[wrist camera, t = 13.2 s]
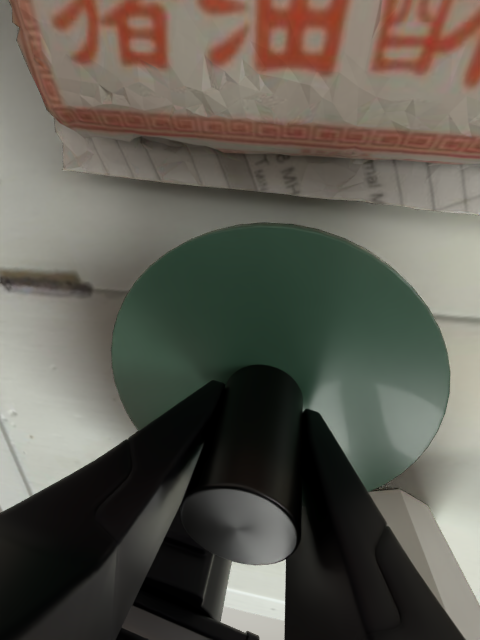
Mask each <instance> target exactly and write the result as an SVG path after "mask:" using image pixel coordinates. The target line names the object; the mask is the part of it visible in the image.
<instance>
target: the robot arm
mask: <svg viewBox="0 0 480 640" xmlns="http://www.w3.org/2000/svg"><path fill="white" fill-rule="evenodd" d="M224 389H225V384H224V383H223V382H219V381H216V380H211V381H210V382H208V383H207V384H205V385H204V386H203V387H201V388H200V389H198V390H197V391H195V392H194V393H193V394H191V395H190V396H188V397H187V398H185V399H184V400H182V401H181V402H180V403H178V404H177V405H175V406H174V407H172V408H171V409H170V410H168V411H167V412H165V413H164V414H162V415H161V416H159V417H158V418H157V419H155V420H154V421H152V422H151V423H149V424H148V425H146V426H145V427H144V428H142V429H141V430H139V431H138V432H136V433H135V434H134V435H132V436H131V437H129V438H128V440H125V441H123V442H122V443H120V444H119V445H117V446H116V447H115V448H113V449H112V450H110V451H108V452H107V453H105V454H104V455H102V456H101V457H99V458H98V459H96V460H95V461H93V462H91V463H89V464H88V465H86V466H84V467H83V468H81V469H79V470H77V471H76V472H74V473H72V474H71V475H69V476H67V477H65V478H63V479H61V480H60V481H58V482H56V483H54V484H52V485H51V486H49V487H47V488H45V489H43V490H42V491H40V492H38V493H36V494H34V495H33V496H31V497H29V498H27V499H25V500H24V501H22V502H20V503H18V504H16V505H15V506H13V507H11V508H9V509H7V510H5V511H3V512H1V513H0V640H259V636H258V635H256V634H253V633H251V632H249V631H247V632H246V633H244V632H242V631H240V630H237V629H235V628H233V627H230V626H228V625H226V624H223V623H221V622H220V621H221V616H222V610H223V605H224V600H225V595H226V589H227V584H228V579H229V574H230V568H231V563H232V561H230V560H227V559H224V558H222V557H219V556H217V555H215V554H213V553H211V552H209V551H208V550H206V549H204V548H203V547H201V546H200V545H199V544H198V543H196V542H195V541H194V540H193V539H192V538H191V537H190V535H189V534H188V533H187V531H186V530H185V528H184V526H183V524H182V521H181V518H180V505H181V502H182V499H183V497H184V494H185V492H186V489H187V486H188V484H189V481H190V478H191V476H192V473H193V470H194V468H195V465H196V463H197V460H198V457H199V455H200V452H201V449H202V447H203V444H204V442H205V439H206V436H207V434H208V431H209V428H210V426H211V424H212V421H213V418H214V416H215V413H216V411H217V408H218V405H219V403H220V400H221V397H222V395H223V392H224ZM285 640H466V639H465V638H464V636H463V635H462V634H461V632H460V631H459V629H458V628H457V627H456V625H455V624H454V622H453V621H452V619H451V618H450V617H449V615H448V614H447V612H446V611H445V610H444V608H443V607H442V605H441V604H440V603H439V601H438V600H437V598H436V597H435V596H434V594H433V593H432V591H431V590H430V588H429V587H428V585H427V584H426V582H425V581H424V580H423V578H422V577H421V575H420V574H419V572H418V571H417V569H416V568H415V566H414V565H413V563H412V562H411V560H410V559H409V557H408V555H407V554H406V552H405V551H404V549H403V548H402V546H401V544H400V543H399V541H398V540H397V538H396V536H395V535H394V533H393V532H392V530H391V528H390V527H389V526H387V522H386V520H385V519H384V517H383V515H382V514H381V512H380V511H379V509H378V507H377V506H376V504H375V502H374V501H373V499H372V498H371V496H370V494H369V493H368V491H367V489H366V488H365V486H364V484H363V483H362V481H361V480H360V478H359V476H358V475H357V473H356V471H355V470H354V468H353V467H352V465H351V463H350V462H349V460H348V458H347V457H346V455H345V453H344V452H343V450H342V449H341V447H340V445H339V444H338V442H337V440H336V439H335V437H334V436H333V434H332V432H331V431H330V429H329V427H328V426H327V424H326V422H325V421H324V419H323V418H322V416H321V414H320V413H319V412H317V411H313V410H310V409H305V410H304V411H303V432H302V533H301V541H300V543H299V546H298V548H297V550H296V551H295V552H294V553H293V554H292V555H291V556H290V557H288V558H287V559H286V591H285Z"/></svg>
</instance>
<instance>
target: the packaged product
mask: <svg viewBox="0 0 480 640" xmlns="http://www.w3.org/2000/svg"><path fill="white" fill-rule="evenodd" d="M9 2H10V5H11V7H12V22H13V23H14V24H16V25H17V26H18V27H19V30H18V36H17V43H18V45H19V47H20V50H21V52H22V54H23V57H24V59H25V61H26V64H27V66H28V69H29V71H30V73H31V75H32V77H33V79H34V81H35V83H36V85H37V87H38V90H39V92H40V94H41V96H42V99H43V102H44V104H45V107H46V109H47V110H48V111H49V112H50V113H51V115H52V116H53V117H54V123H55V131H56V133H57V134H58V136H59V137H60V139H61V140H62V141H63V168H64V169H62V170H67V171H75V172H83V173H91V174H99V175H107V176H115V177H123V178H131V179H140V180H148V181H156V182H164V183H173V184H183V185H194V186H204V187H215V188H226V189H236V190H247V191H257V192H268V193H280V194H288V195H294V196H300V197H311V198H321V199H331V200H352V201H363V202H368V203H373V204H387V205H395V206H405V207H409V208H413V209H417V210H428V211H439V212H450V213H461V214H472V215H480V0H9Z"/></svg>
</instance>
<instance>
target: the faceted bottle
mask: <svg viewBox="0 0 480 640" xmlns="http://www.w3.org/2000/svg"><path fill="white" fill-rule="evenodd" d="M368 493H369V494H370V496H371V498H372V499H373V501H374V502H375V504H376V506H377V507H378V509H379V511H380V512H381V514H382V515H383V517H384V519H385V520H386V522H387V526H389V527H390V528H391V530H392V532H393V533H394V535H395V536H396V538H397V540H398V541H399V543H400V544H401V546H402V548H403V549H404V551H405V552H406V554H407V555H408V557H409V559H410V560H411V562H412V563H413V565H414V566H415V568H416V569H417V571H418V572H419V574H420V575H421V577H422V578H423V580H424V581H425V582H426V584H427V585H428V587H429V588H430V590H431V591H432V593H433V594H434V596H435V597H436V598H437V600H438V601H439V603H440V604H441V605H442V607H443V608H444V610H445V611H446V612H447V614H448V615H449V617H450V618H451V619H452V621H453V622H454V624H455V625H456V627H457V628H458V629H459V631H460V632H461V634H462V635H463V636H464V638H465V639H466V640H480V605H479V603H478V601H477V599H476V597H475V595H474V593H473V591H472V589H471V588H470V586H469V584H468V582H467V580H466V578H465V576H464V574H463V572H462V570H461V568H460V566H459V564H458V562H457V561H456V559H455V557H454V555H453V553H452V551H451V549H450V547H449V545H448V543H447V541H446V539H445V537H444V535H443V534H442V532H441V530H440V528H439V526H438V524H437V522H436V520H435V518H434V516H433V514H432V512H431V510H430V508H429V507H428V505H426V504H424V503H423V502H421V501H419V500H418V499H416V498H414V497H412V496H411V495H409V494H407V493H406V492H404V491H402V490H400V489H395V490H384V491H372V492H368Z"/></svg>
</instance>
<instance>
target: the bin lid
mask: <svg viewBox="0 0 480 640" xmlns="http://www.w3.org/2000/svg"><path fill="white" fill-rule="evenodd" d="M111 357H112V369H113V375H114V380H115V384H116V387H117V390H118V393H119V396H120V399H121V401H122V403H123V405H124V408H125V410H126V412H127V414H128V415H129V417H130V419H131V420H132V422H133V423H134V425H135V427H136V428H137V429H138V431H139V430H141V429H142V428H144V427H145V426H146V425H148V424H149V423H151V422H152V421H154V420H155V419H157V418H158V417H159V416H161V415H162V414H164V413H165V412H167V411H168V410H170V409H171V408H172V407H174V406H175V405H177V404H178V403H180V402H181V401H182V400H184V399H185V398H187V397H188V396H190V395H191V394H193V393H194V392H195V391H197V390H198V389H200V388H201V387H203V386H204V385H205V384H207V383H208V382H210V381H211V380H216V381H219V382H223V383H224V384H225V389H224V392H223V395H222V397H221V400H220V403H219V405H218V408H217V411H216V413H215V416H214V418H213V421H212V424H211V426H210V428H209V431H208V434H207V436H206V439H205V442H204V444H203V447H202V449H201V452H200V455H199V457H198V460H197V463H196V465H195V468H194V470H193V473H192V476H191V478H190V481H189V484H188V486H187V489H186V492H185V494H184V497H183V499H182V502H181V505H180V518H181V521H182V524H183V526H184V528H185V530H186V531H187V533H188V534H189V535H190V537H191V538H192V539H193V540H194V541H195V542H196V543H198V544H199V545H200V546H201V547H203V548H204V549H206V550H208V551H209V552H211V553H213V554H215V555H217V556H219V557H222V558H224V559H227V560H230V561H233V562H237V563H242V564H249V565H268V564H273V563H277V562H281V561H283V560H285V559H287V558H288V557H290V556H291V555H292V554H293V553H294V552H295V551H296V550H297V548H298V546H299V543H300V541H301V533H302V432H303V411H304V410H305V409H310V410H313V411H317V412H319V413H320V414H321V416H322V418H323V419H324V421H325V422H326V424H327V426H328V427H329V429H330V431H331V432H332V434H333V436H334V437H335V439H336V440H337V442H338V444H339V445H340V447H341V449H342V450H343V452H344V453H345V455H346V457H347V458H348V460H349V462H350V463H351V465H352V467H353V468H354V470H355V471H356V473H357V475H358V476H359V478H360V480H361V481H362V483H363V484H364V486H365V488H366V489H367V491H368V492H370V491H372V490H374V489H376V488H378V487H380V486H382V485H384V484H386V483H388V482H389V481H391V480H392V479H394V478H395V477H397V476H398V475H400V474H401V473H403V472H404V471H405V470H406V469H407V468H408V467H409V466H411V465H412V464H413V463H414V462H415V461H416V460H417V459H418V458H419V457H420V455H421V454H422V453H423V452H424V451H425V450H426V449H427V447H428V446H429V444H430V443H431V441H432V439H433V438H434V436H435V435H436V433H437V431H438V429H439V427H440V424H441V422H442V419H443V417H444V415H445V411H446V407H447V402H448V398H449V392H450V367H449V360H448V353H447V349H446V346H445V343H444V340H443V337H442V334H441V331H440V328H439V326H438V324H437V323H436V321H435V319H434V317H433V315H432V313H431V311H430V310H429V308H428V306H427V305H426V304H425V303H424V301H423V300H422V299H421V297H420V296H419V295H418V294H417V292H416V291H415V290H414V288H413V287H412V286H411V285H410V284H409V283H408V282H407V281H406V280H405V279H404V278H403V277H402V276H400V275H399V274H398V273H397V272H396V271H395V270H394V269H393V268H392V267H391V266H390V265H389V264H387V263H386V262H384V261H383V260H381V259H380V258H379V257H377V256H376V255H374V254H373V253H371V252H370V251H368V250H367V249H365V248H363V247H361V246H359V245H357V244H355V243H353V242H351V241H349V240H347V239H345V238H342V237H339V236H336V235H334V234H331V233H328V232H325V231H322V230H319V229H314V228H309V227H304V226H299V225H294V224H282V223H253V224H240V225H235V226H230V227H226V228H221V229H217V230H213V231H211V232H208V233H205V234H203V235H200V236H197V237H195V238H192V239H190V240H188V241H187V242H185V243H183V244H181V245H180V246H178V247H176V248H174V249H172V250H171V251H169V252H167V253H166V254H165V255H163V256H162V257H161V258H159V259H158V260H157V261H156V262H154V263H153V264H152V265H151V266H149V268H148V269H147V270H146V271H145V272H144V273H143V274H142V275H141V276H140V277H139V278H138V279H137V281H136V282H135V283H134V285H133V286H132V288H131V289H130V291H129V292H128V294H127V295H126V297H125V299H124V301H123V304H122V306H121V308H120V310H119V312H118V315H117V319H116V323H115V326H114V330H113V337H112V346H111Z"/></svg>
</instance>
